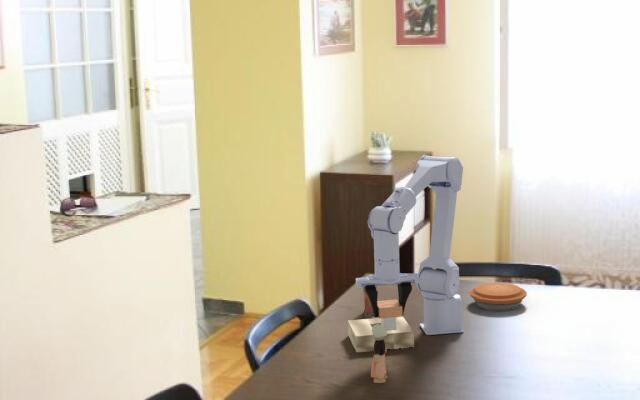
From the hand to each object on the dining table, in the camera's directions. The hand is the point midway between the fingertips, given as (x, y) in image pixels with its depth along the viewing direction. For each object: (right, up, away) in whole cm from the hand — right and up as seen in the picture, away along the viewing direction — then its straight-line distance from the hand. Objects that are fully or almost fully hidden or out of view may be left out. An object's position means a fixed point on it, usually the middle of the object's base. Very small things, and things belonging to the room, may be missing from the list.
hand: (388, 315), depth 208 cm
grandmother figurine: (-3, -13, -12) cm, 18 cm away
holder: (-1, -8, +12) cm, 15 cm away
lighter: (-2, -4, +35) cm, 35 cm away
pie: (+33, -2, +37) cm, 50 cm away
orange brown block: (0, -3, +1) cm, 3 cm away
